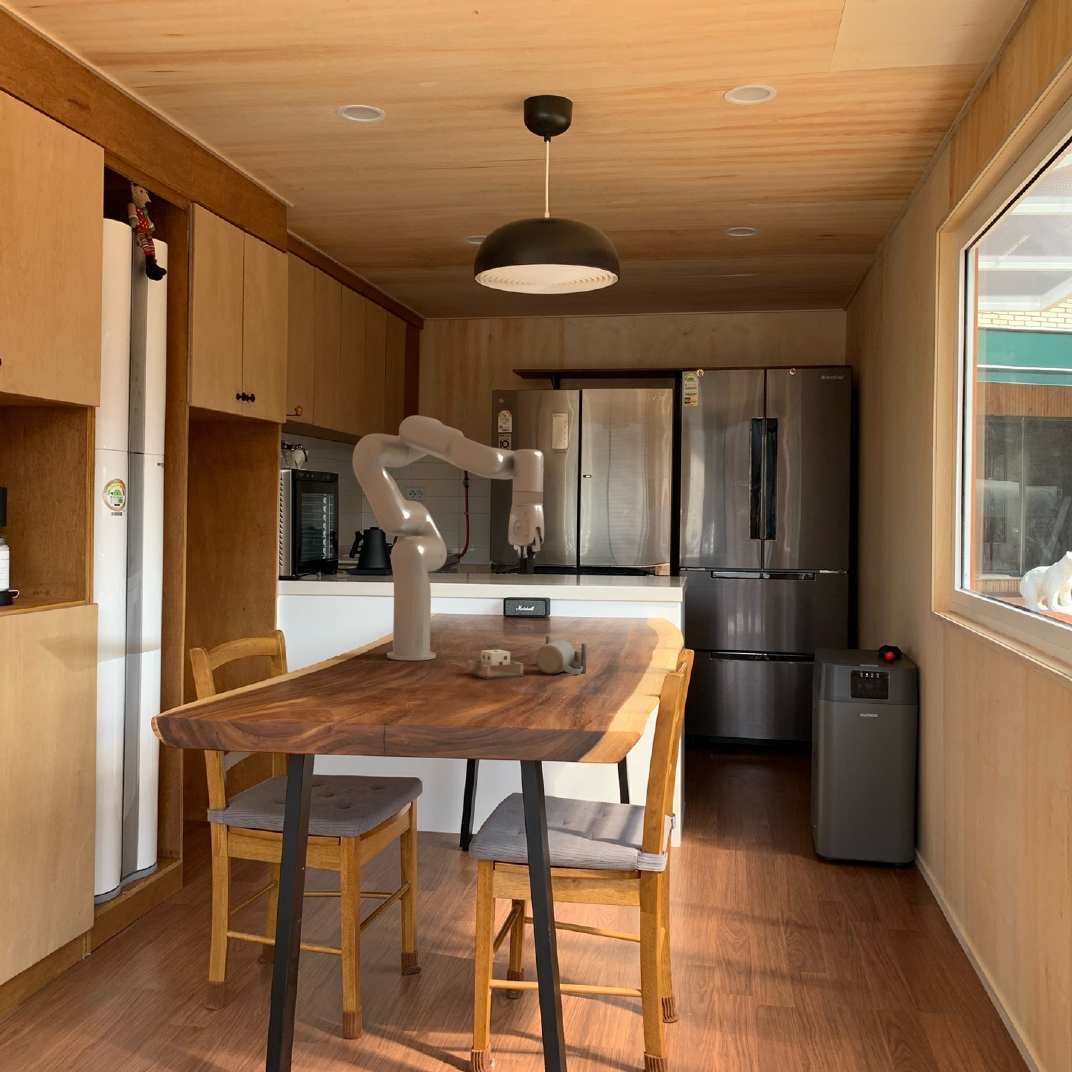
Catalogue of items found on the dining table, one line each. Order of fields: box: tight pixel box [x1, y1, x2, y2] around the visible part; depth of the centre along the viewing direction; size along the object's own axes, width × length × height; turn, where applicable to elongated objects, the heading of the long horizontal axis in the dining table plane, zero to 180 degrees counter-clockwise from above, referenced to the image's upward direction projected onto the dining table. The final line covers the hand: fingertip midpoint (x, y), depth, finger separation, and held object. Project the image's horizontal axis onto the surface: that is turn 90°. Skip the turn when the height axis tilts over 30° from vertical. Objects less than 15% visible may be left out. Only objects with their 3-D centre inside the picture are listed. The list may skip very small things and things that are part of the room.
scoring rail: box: [545, 635, 588, 674], centre depth 257 cm, size 17×1×7 cm, turn 32°
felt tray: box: [466, 659, 524, 680], centre depth 244 cm, size 10×10×3 cm
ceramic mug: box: [535, 638, 583, 676], centre depth 249 cm, size 11×8×8 cm
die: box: [480, 648, 511, 666], centre depth 244 cm, size 5×5×5 cm
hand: (526, 574), depth 257 cm, fingers closed
